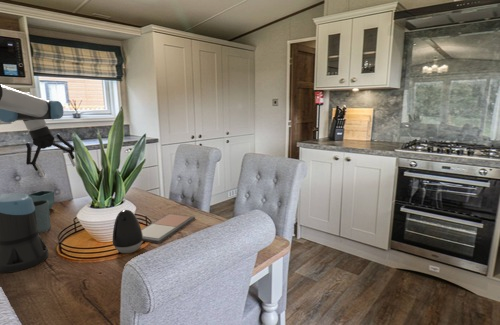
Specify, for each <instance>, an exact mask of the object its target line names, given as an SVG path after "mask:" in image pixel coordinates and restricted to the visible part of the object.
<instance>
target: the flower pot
mask: <svg viewBox="0 0 500 325" xmlns="http://www.w3.org/2000/svg"><path fill="white" fill-rule="evenodd" d="M28 195H29V196H30V197H31V198H32V200H33V201H37V200H48V202H49V210H50V209H52V207H54V206H53V205H54V203H55V191H54V190H52V191H51V190H40V191H36V192H33V193H30V194H28Z"/></svg>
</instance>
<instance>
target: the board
mask: <svg viewBox="0 0 500 325" xmlns="http://www.w3.org/2000/svg"><path fill="white" fill-rule="evenodd" d="M194 220H196V216H193V215H185V214H176V213H167V214H166V215H164V216H162V217H161V218H158V219H157V220H156V221H153V222H151V223H150V224H148V225H147V226H145V227H143V228H141V230H142V234H143V240H142V242H150V243H155V244H160V243H162V242H163V241H165V240H166V239H168V238H169V237H171V235H173V234H175V233H176V232H178V231H180V229H182V228H184V226H186V225H188V224H189V223H191V222H192V221H194Z"/></svg>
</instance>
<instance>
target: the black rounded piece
mask: <svg viewBox="0 0 500 325" xmlns="http://www.w3.org/2000/svg"><path fill="white" fill-rule="evenodd" d="M141 229H142V227H141V224H140V222H139V220H138V218H137V216H136V215H135V214H134V213H133V211H132V210H129V209H123V210H121V211H120V212H118V214H117V216H116V218H115V220H114V224H113V230H112V231H113V232H112V245H113V246H114V249H115V250H116V251H117V252H119V253H121V254H131V253H134V252H136V251H137V250H139V249H140V247H141V246H142V243H143V241H142V240H143V234H142V230H141Z"/></svg>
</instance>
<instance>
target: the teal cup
mask: <svg viewBox="0 0 500 325" xmlns="http://www.w3.org/2000/svg"><path fill="white" fill-rule="evenodd" d="M33 203H34V206H35V214H36V220H37V226H38V232H39V234H41V233H44V232H47V231H49V230H51V228H52V227H51V226H52V225H51V224H52V223H51V217H50V214H51V213H50V209H49V202H48V200H37V201H33Z"/></svg>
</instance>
